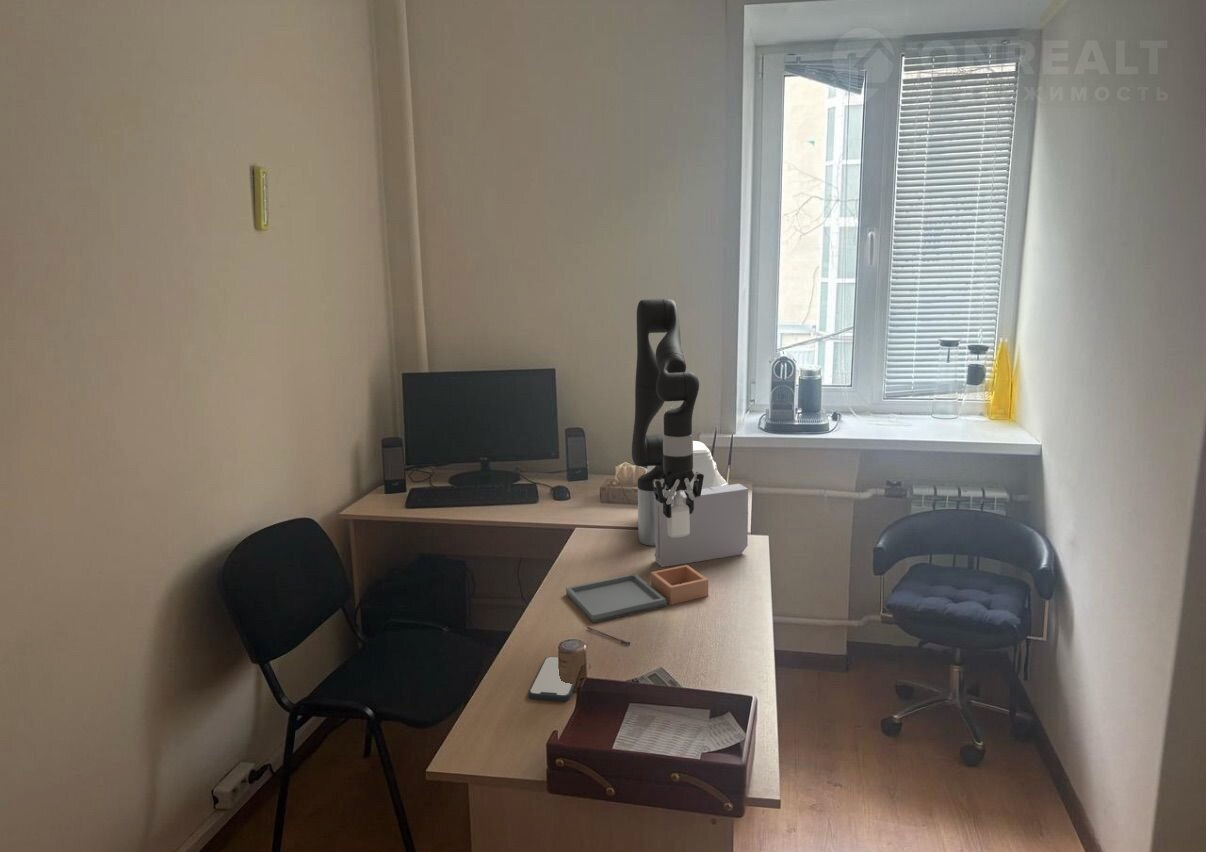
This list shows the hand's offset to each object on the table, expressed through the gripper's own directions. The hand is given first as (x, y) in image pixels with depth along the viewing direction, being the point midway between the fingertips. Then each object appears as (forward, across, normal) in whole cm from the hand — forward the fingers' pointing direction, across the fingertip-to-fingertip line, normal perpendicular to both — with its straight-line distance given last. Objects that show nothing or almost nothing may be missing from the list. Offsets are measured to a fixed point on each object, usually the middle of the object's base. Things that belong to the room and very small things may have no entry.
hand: (678, 514), depth 203 cm
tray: (+21, +17, -3) cm, 27 cm away
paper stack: (+22, -29, -46) cm, 58 cm away
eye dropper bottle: (+6, 0, 0) cm, 6 cm away
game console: (+22, -17, -18) cm, 33 cm away
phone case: (+22, +44, +26) cm, 56 cm away
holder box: (+21, 0, 0) cm, 21 cm away
